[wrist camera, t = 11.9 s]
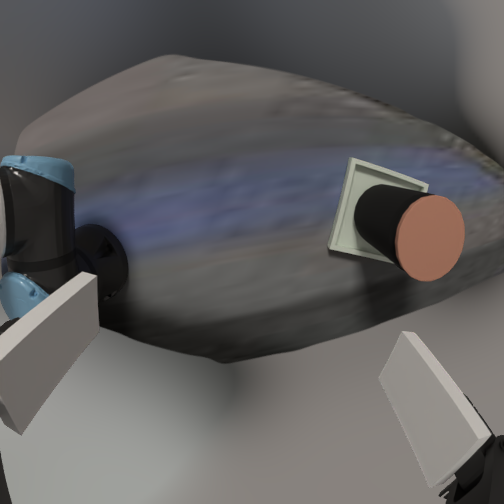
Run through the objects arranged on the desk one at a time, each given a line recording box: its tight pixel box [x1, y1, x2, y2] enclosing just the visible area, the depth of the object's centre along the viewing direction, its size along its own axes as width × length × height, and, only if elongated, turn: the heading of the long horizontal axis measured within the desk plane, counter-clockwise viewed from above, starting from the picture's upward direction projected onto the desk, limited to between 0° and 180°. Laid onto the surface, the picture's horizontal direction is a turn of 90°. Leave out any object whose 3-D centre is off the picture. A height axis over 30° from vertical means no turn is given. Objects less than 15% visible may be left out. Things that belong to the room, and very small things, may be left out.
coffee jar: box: [354, 184, 465, 281], centre depth 38 cm, size 11×11×18 cm
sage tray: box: [328, 158, 429, 264], centre depth 46 cm, size 16×16×2 cm
